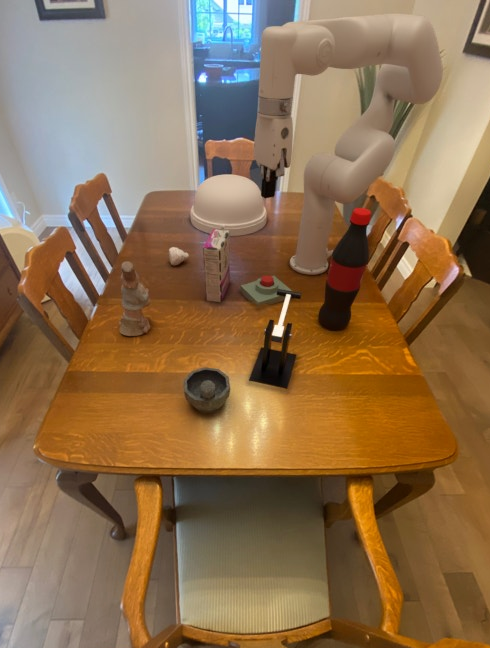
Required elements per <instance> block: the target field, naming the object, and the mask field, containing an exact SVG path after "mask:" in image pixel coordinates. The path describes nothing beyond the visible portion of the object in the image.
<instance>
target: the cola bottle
mask: <svg viewBox="0 0 490 648" xmlns="http://www.w3.org/2000/svg"><path fill="white" fill-rule="evenodd" d="M371 218H372V211H371V210H370V209H367V208H364V207H357V208H354V209H353V211H352V213H351V216H350V219H349V223H350V224H349V226H348V228H347V230H346V232H345V233H344V234H343V235H342V237H341V238H340V239H339V241H338V242H337V244H336V245H335V247H334V248H333V249H332V250H333V253H332V256H331V260H330V264H329V267H328V268H329V270H328V272H327V273H328V274H327V277H326V280H325V287H324V301H323V303H322V305H321V306H320V309H319V310H318V315H317V316H318V318H317V319H318V324H319V325H320V327H322V328H323V329H325V330H327V331H331V332H341V331H342V330H345V329H346V328H347V327H348V325H349V323H350V322H351V318H352V305H353V303H354V302H355V300H356V298H357V296H358V294H359V292H360V290H361V285H362V280H363V278H364V274H365V271H366V268H367V265H368V263H369V260H370V248H369V246H370V245H369V241H368V240H369V239H368V234H367V231H368V230H367V229H368V226H369V225H370V222H371Z"/></svg>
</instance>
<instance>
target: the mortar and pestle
mask: <svg viewBox="0 0 490 648" xmlns="http://www.w3.org/2000/svg"><path fill="white" fill-rule="evenodd" d="M183 394H184V397H185V400H186V401H187V402H188V403H189V404H190V405H191V406H192V407H194V408H195V409H196V410H197V411H199V412H200V413H205V414H212V413H214V412H217V411H218V410H219V409H220V408H222V406H223V405H225V402H226V401H227V400H228V398H229V397H230V394H231V383H230V378H229V375H227V374H226V373H224V372H223V371H222V370H221V369H220V368H213V367H207V366H206V367H205V366H204V367H201V368H197V369H194V370H191V371H190V372H189V373H188V374H187V376H186V377H185V378H184V379H183Z"/></svg>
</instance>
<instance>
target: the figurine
mask: <svg viewBox="0 0 490 648" xmlns="http://www.w3.org/2000/svg"><path fill="white" fill-rule="evenodd" d="M120 267H121V268H120V269H121V275H120V276H119V278H120V282H121V284H122V285H121V286H120V287H121V288H120V294H121V300H120V301H121V306H122V309H124V310H123V312H122V315H121V316H120V321H119V322H118V326H119V332H120V334H121V335H123V336H126V337H136V336H141V335H144V334H146V333H148V332H149V330H150V329H151V325H150V322H149V319H148V318H147V317H146V316H144V314H143V312H142V311H143V309H144V308H147V307H149V306H150V305H151V303H152V300H151V298H150V295H149V294H150V290H149V288H147V287H146V286H145V285H144V284H143V283H141V282H140V281H139V280H140V276H139V274H138V273H137V271H136V269H135V266H134V264H133V263H132V262H131V261H128V260H126V261H123V262H122V263H121V266H120Z"/></svg>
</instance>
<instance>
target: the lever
mask: <svg viewBox="0 0 490 648" xmlns="http://www.w3.org/2000/svg"><path fill="white" fill-rule="evenodd" d="M302 294H303V293H302V292H298V291H293V290H292V291H288V290H282V289H278V290H277V295H278V296H284V297H285V300H284V301H283V304H282V309H281V312H280V315H279V318H278V322H277V324H274V326H273V332H272V342H274V343H280V344H282V343H283V337H284V333H285V329H286V326H284V324H285V321H286V317H287V313H288V309H289V306H290V302H291V299H296V300H301V298H302Z"/></svg>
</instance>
